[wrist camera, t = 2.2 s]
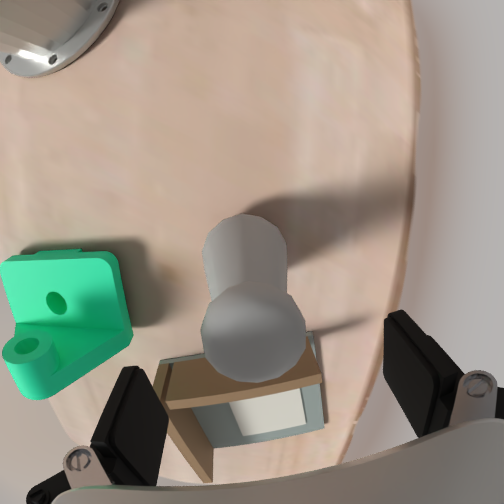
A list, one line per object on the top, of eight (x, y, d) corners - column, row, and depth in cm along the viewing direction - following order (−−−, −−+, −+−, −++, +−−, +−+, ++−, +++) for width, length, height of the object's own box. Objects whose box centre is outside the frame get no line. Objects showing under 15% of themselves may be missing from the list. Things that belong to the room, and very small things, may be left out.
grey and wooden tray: (160, 360, 27) (148, 402, 21) (311, 330, 26) (327, 371, 21) (205, 445, 31) (203, 483, 26) (323, 424, 31) (334, 461, 26)
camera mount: (121, 246, 23) (60, 309, 13) (136, 328, 26) (100, 412, 16) (12, 251, 23) (-58, 300, 13) (33, 323, 25) (-19, 384, 15)
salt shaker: (221, 195, 22) (207, 259, 10) (293, 223, 23) (357, 309, 11) (195, 266, 24) (164, 384, 12) (264, 290, 25) (290, 414, 13)
